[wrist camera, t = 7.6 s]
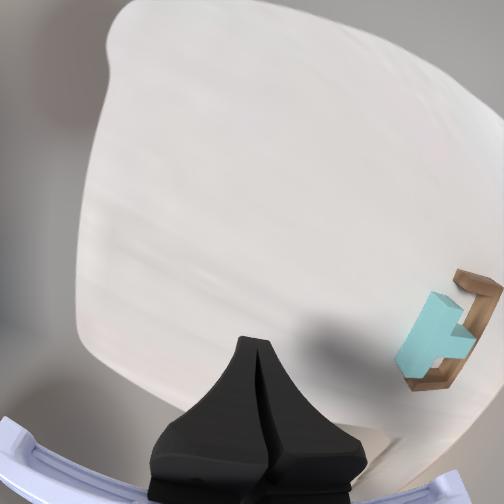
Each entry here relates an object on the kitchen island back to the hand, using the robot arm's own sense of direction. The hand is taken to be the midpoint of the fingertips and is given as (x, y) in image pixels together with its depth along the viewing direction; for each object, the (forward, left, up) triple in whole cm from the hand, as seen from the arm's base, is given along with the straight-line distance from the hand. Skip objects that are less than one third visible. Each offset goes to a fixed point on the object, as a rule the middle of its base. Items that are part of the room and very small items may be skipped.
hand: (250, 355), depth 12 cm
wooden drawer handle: (-3, -22, -10) cm, 25 cm away
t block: (-3, -20, -10) cm, 23 cm away
